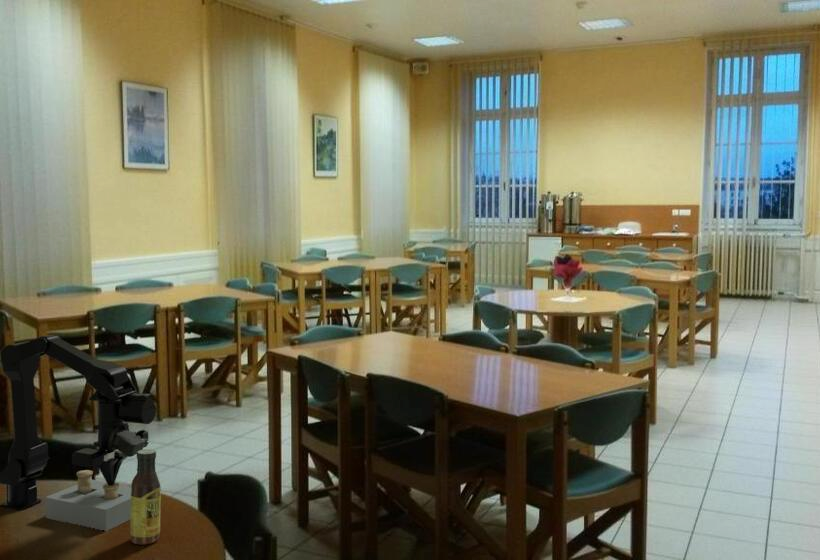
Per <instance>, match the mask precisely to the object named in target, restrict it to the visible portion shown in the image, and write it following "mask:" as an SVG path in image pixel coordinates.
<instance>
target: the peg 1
mask: <svg viewBox="0 0 820 560" xmlns="http://www.w3.org/2000/svg"><path fill="white" fill-rule="evenodd" d="M93 473H94V471H93V470H89V469H85V470H79V471H77V472H76V477H77V484H78V494H83V495H86V494H89V493H91V492H92V476H93Z"/></svg>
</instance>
